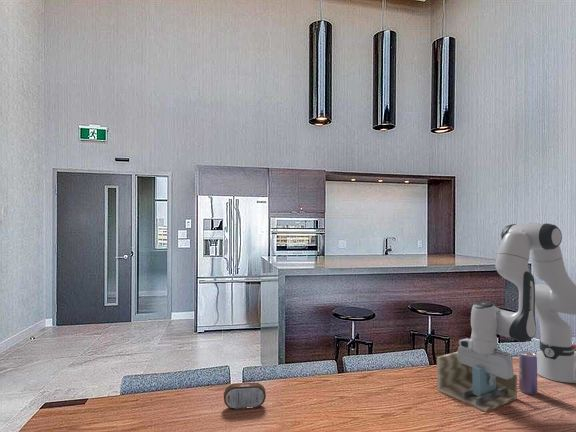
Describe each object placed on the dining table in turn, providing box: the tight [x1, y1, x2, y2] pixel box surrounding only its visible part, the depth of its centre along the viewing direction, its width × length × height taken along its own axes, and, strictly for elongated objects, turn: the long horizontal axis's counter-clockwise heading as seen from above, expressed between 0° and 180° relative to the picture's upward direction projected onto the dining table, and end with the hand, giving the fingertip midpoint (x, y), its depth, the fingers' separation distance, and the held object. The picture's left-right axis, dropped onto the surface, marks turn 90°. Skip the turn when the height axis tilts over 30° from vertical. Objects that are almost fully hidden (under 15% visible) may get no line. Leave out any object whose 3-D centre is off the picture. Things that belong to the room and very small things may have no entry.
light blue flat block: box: [472, 365, 496, 396], centre depth 139 cm, size 10×3×10 cm, turn 120°
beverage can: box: [518, 350, 538, 396], centre depth 146 cm, size 6×6×15 cm
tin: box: [223, 382, 267, 409], centre depth 132 cm, size 15×3×8 cm, turn 98°
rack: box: [436, 350, 518, 413], centre depth 143 cm, size 20×20×13 cm
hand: (484, 382), depth 139 cm, fingers closed on light blue flat block, 3 cm apart
